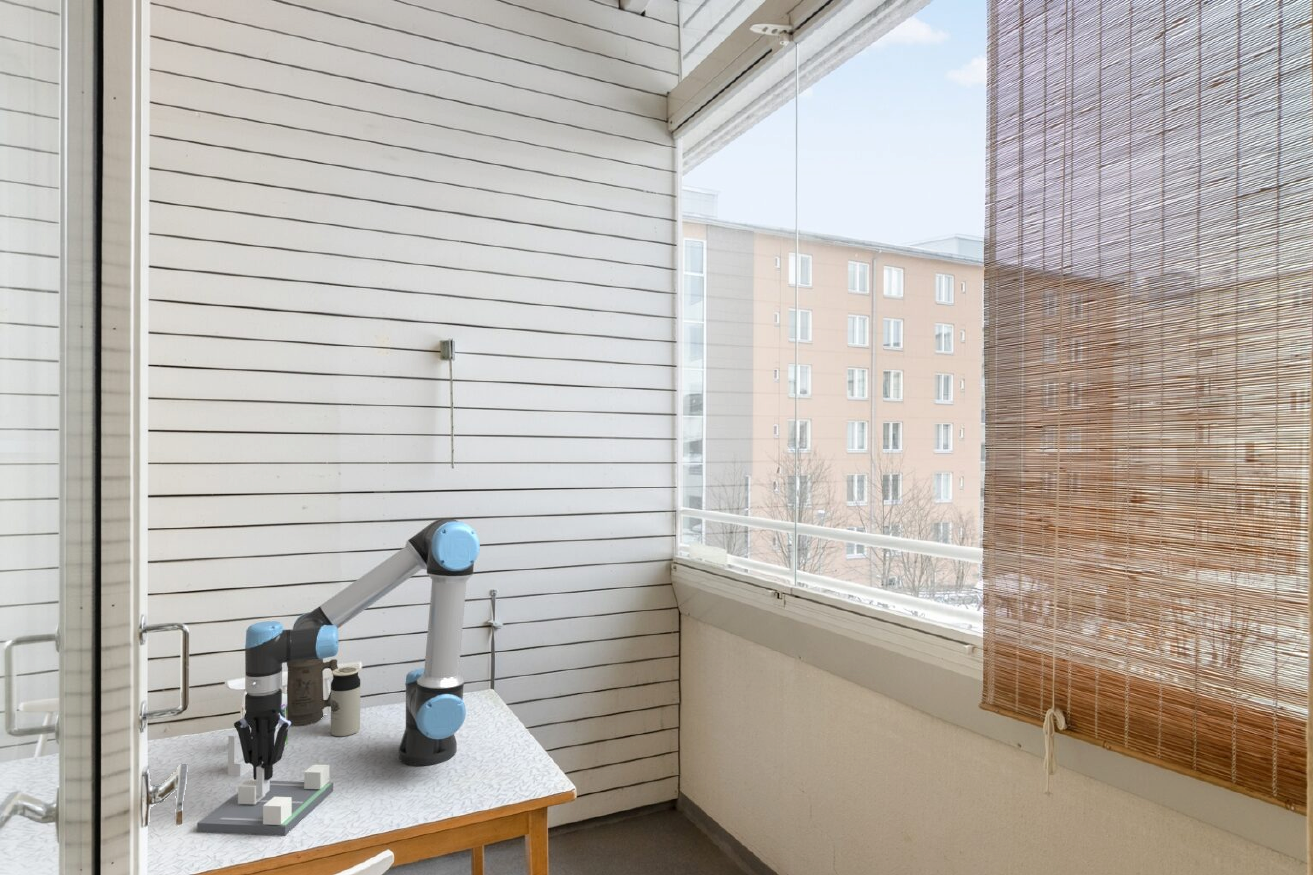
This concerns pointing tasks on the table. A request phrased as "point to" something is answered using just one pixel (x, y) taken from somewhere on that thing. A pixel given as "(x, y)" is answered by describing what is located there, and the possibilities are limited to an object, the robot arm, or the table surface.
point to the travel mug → (345, 701)
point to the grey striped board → (251, 815)
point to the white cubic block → (248, 792)
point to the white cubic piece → (316, 777)
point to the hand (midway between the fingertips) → (262, 792)
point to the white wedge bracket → (236, 758)
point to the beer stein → (307, 691)
